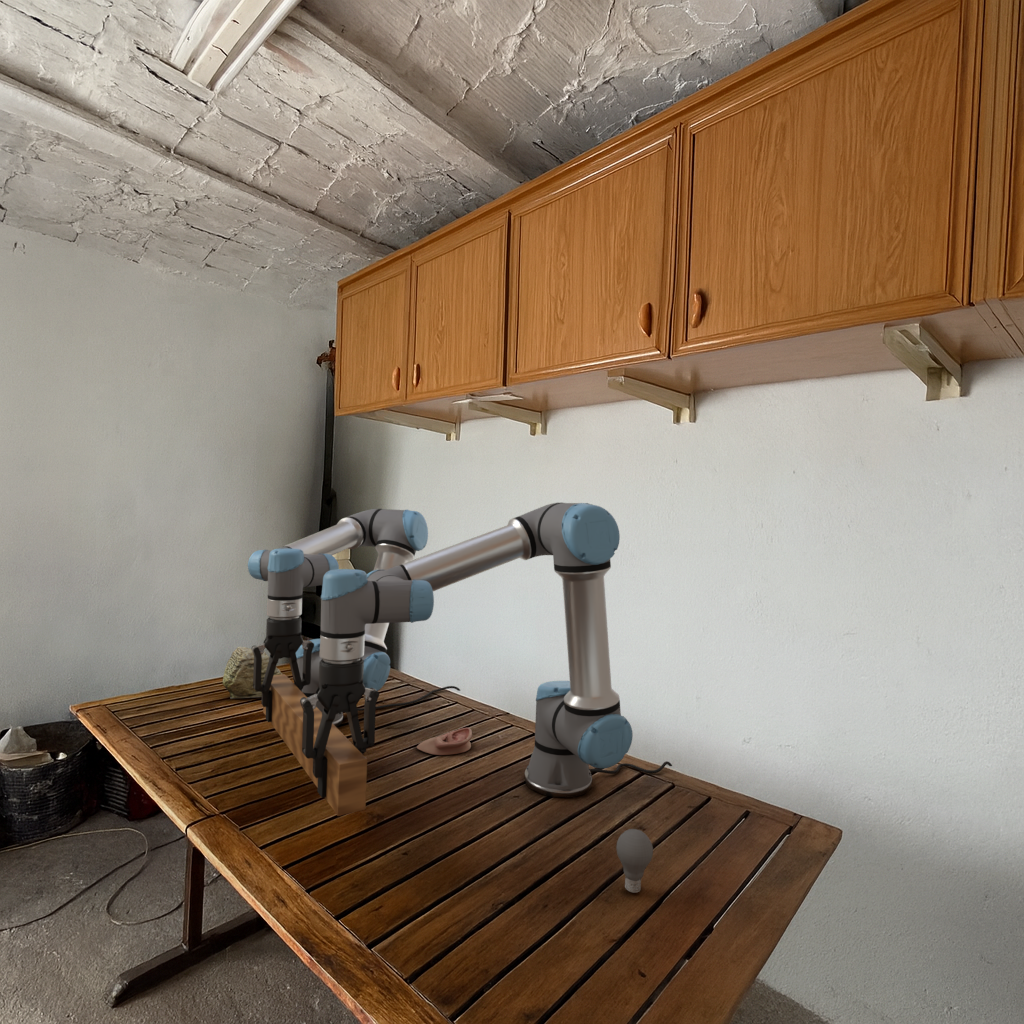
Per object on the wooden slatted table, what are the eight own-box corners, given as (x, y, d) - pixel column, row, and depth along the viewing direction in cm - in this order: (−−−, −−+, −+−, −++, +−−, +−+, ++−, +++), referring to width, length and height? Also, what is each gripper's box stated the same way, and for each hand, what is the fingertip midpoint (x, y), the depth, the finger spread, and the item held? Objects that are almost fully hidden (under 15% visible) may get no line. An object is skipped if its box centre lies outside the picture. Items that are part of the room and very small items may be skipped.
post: (263, 712, 150) (264, 676, 149) (283, 709, 152) (284, 674, 152) (337, 816, 103) (339, 764, 103) (365, 809, 106) (367, 759, 106)
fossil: (218, 695, 195) (220, 647, 195) (278, 685, 208) (279, 640, 207) (228, 703, 189) (230, 653, 188) (289, 692, 201) (290, 645, 201)
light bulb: (610, 879, 108) (613, 822, 108) (644, 879, 109) (647, 822, 109) (619, 902, 102) (622, 840, 102) (655, 901, 103) (658, 840, 103)
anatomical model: (412, 736, 159) (428, 721, 170) (412, 752, 159) (427, 735, 170) (464, 742, 156) (476, 726, 167) (463, 758, 156) (475, 741, 167)
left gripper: (245, 622, 136) (242, 730, 137) (328, 617, 146) (324, 717, 146) (239, 616, 142) (236, 719, 143) (318, 611, 152) (315, 707, 153)
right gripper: (295, 669, 102) (290, 812, 103) (398, 658, 112) (393, 788, 113) (283, 659, 109) (279, 793, 109) (382, 648, 118) (377, 772, 119)
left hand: (281, 717), depth 145 cm, fingers closed on post, 5 cm apart
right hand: (337, 790), depth 111 cm, fingers closed on post, 5 cm apart
